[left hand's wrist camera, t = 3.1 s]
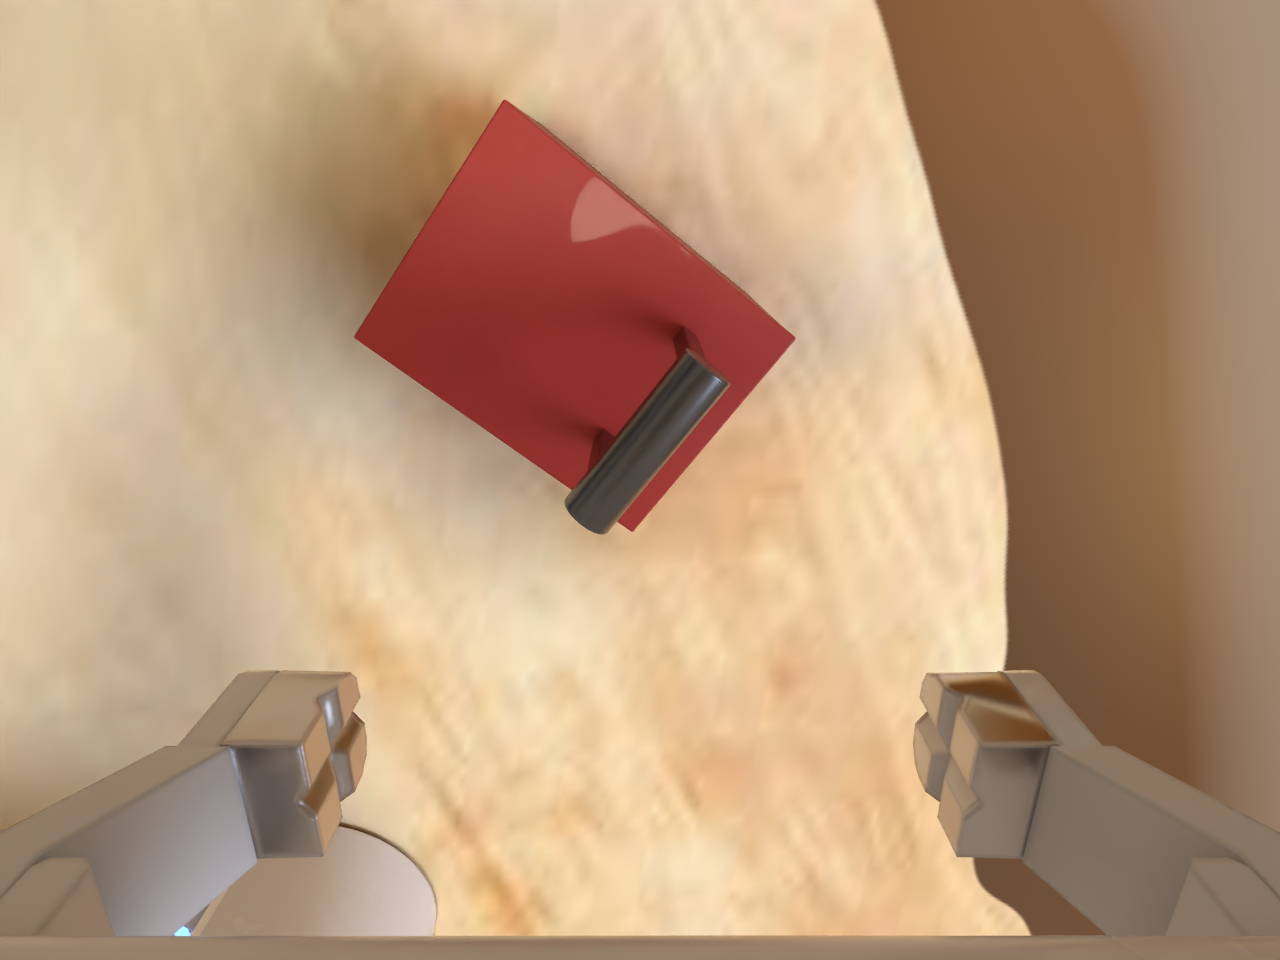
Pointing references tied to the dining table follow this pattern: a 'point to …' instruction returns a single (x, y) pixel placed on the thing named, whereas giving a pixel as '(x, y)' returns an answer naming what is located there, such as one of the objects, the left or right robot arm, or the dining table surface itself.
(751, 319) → the lid
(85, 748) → the dining table surface
